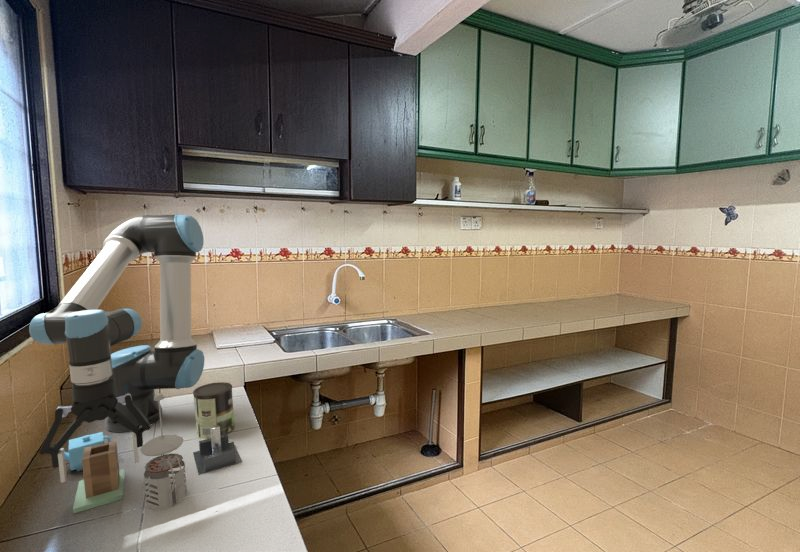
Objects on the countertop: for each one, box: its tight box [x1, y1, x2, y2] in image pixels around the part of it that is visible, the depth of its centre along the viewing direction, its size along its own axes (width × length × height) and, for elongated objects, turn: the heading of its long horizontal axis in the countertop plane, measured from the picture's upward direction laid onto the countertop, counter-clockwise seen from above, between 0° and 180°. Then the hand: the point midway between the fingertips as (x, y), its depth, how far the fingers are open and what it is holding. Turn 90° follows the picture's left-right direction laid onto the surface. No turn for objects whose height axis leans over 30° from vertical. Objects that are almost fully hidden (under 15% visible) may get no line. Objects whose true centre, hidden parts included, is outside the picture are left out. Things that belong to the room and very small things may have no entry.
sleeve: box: [82, 440, 120, 498], centre depth 95 cm, size 6×6×9 cm
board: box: [72, 468, 126, 514], centre depth 96 cm, size 12×10×1 cm
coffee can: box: [192, 381, 235, 440], centre depth 121 cm, size 10×10×14 cm
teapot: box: [61, 431, 112, 472], centre depth 106 cm, size 12×6×8 cm, turn 128°
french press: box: [139, 393, 188, 510], centre depth 89 cm, size 10×12×25 cm
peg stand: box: [192, 425, 243, 476], centre depth 106 cm, size 12×10×10 cm
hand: (101, 469), depth 95 cm, fingers open, 13 cm apart
